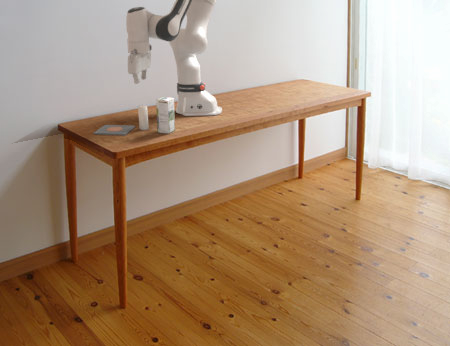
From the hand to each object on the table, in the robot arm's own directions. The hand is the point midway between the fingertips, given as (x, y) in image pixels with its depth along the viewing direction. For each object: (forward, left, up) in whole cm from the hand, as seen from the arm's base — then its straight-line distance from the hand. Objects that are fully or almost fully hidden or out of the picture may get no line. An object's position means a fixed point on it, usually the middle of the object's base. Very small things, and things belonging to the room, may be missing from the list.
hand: (140, 81), depth 232 cm
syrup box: (-11, +3, -21) cm, 24 cm away
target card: (+12, +4, -21) cm, 24 cm away
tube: (0, 0, -21) cm, 21 cm away
